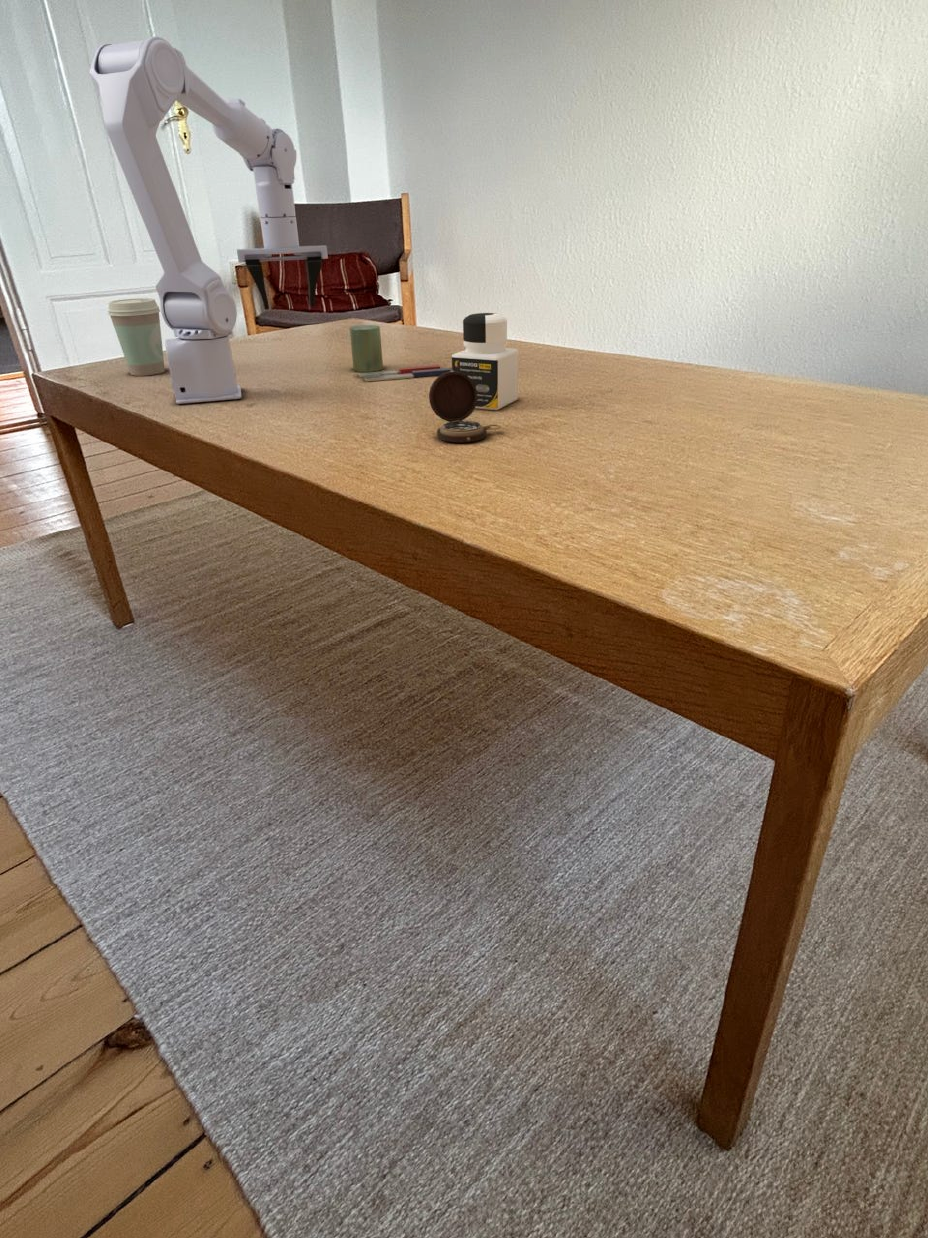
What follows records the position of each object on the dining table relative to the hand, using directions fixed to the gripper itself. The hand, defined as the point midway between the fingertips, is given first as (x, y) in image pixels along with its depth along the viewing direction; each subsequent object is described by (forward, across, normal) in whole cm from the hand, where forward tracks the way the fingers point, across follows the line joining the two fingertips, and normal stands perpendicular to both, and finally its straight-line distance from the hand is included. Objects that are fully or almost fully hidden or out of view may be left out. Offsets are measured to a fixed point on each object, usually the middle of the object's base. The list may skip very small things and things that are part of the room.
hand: (289, 307), depth 128 cm
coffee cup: (+11, +26, -9) cm, 29 cm away
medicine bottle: (+11, -24, +36) cm, 45 cm away
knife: (+10, -18, +14) cm, 24 cm away
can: (+10, -12, +4) cm, 16 cm away
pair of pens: (+10, -17, +10) cm, 22 cm away
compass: (+11, -17, +51) cm, 55 cm away
